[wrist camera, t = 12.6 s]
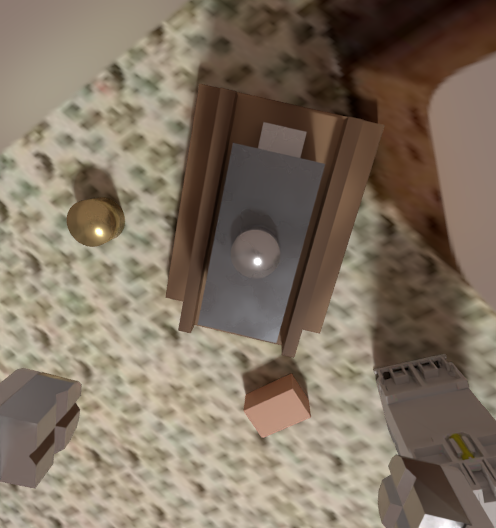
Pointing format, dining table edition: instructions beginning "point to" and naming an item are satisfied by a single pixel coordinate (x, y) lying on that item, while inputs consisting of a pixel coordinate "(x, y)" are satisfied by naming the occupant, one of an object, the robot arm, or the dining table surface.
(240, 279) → the slider plate with knob
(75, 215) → the brass knob
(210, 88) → the stand
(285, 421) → the terracotta block
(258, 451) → the dining table surface
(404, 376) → the circuit breaker
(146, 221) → the dining table surface
